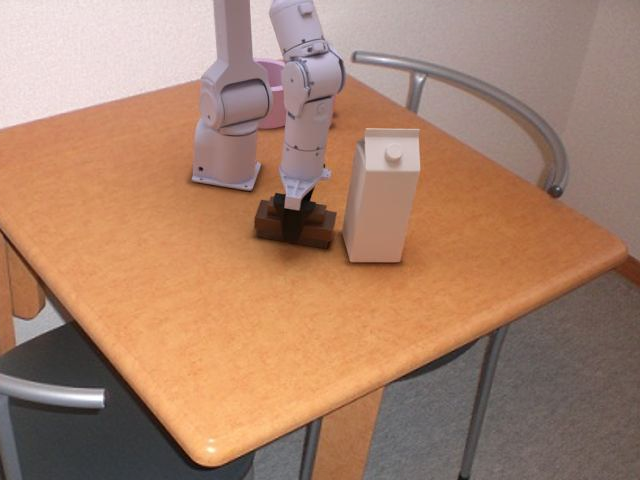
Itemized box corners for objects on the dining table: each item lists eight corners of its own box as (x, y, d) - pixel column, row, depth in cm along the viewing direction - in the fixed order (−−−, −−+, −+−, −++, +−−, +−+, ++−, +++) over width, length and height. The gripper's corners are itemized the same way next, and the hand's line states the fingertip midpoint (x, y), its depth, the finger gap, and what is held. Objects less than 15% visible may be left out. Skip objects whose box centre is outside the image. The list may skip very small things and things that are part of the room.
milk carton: (341, 233, 128) (360, 115, 116) (389, 233, 129) (413, 115, 116) (349, 263, 122) (371, 142, 110) (399, 263, 123) (426, 143, 111)
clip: (334, 103, 158) (340, 67, 154) (329, 137, 149) (334, 100, 144) (225, 89, 160) (226, 53, 155) (212, 122, 150) (214, 84, 146)
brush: (253, 237, 126) (255, 207, 122) (259, 219, 129) (261, 190, 126) (329, 250, 124) (334, 220, 121) (333, 232, 128) (338, 202, 125)
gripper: (328, 173, 111) (315, 258, 120) (341, 119, 122) (329, 201, 131) (272, 164, 112) (264, 249, 121) (291, 111, 123) (282, 193, 131)
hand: (294, 224), depth 126 cm, fingers open, 7 cm apart
